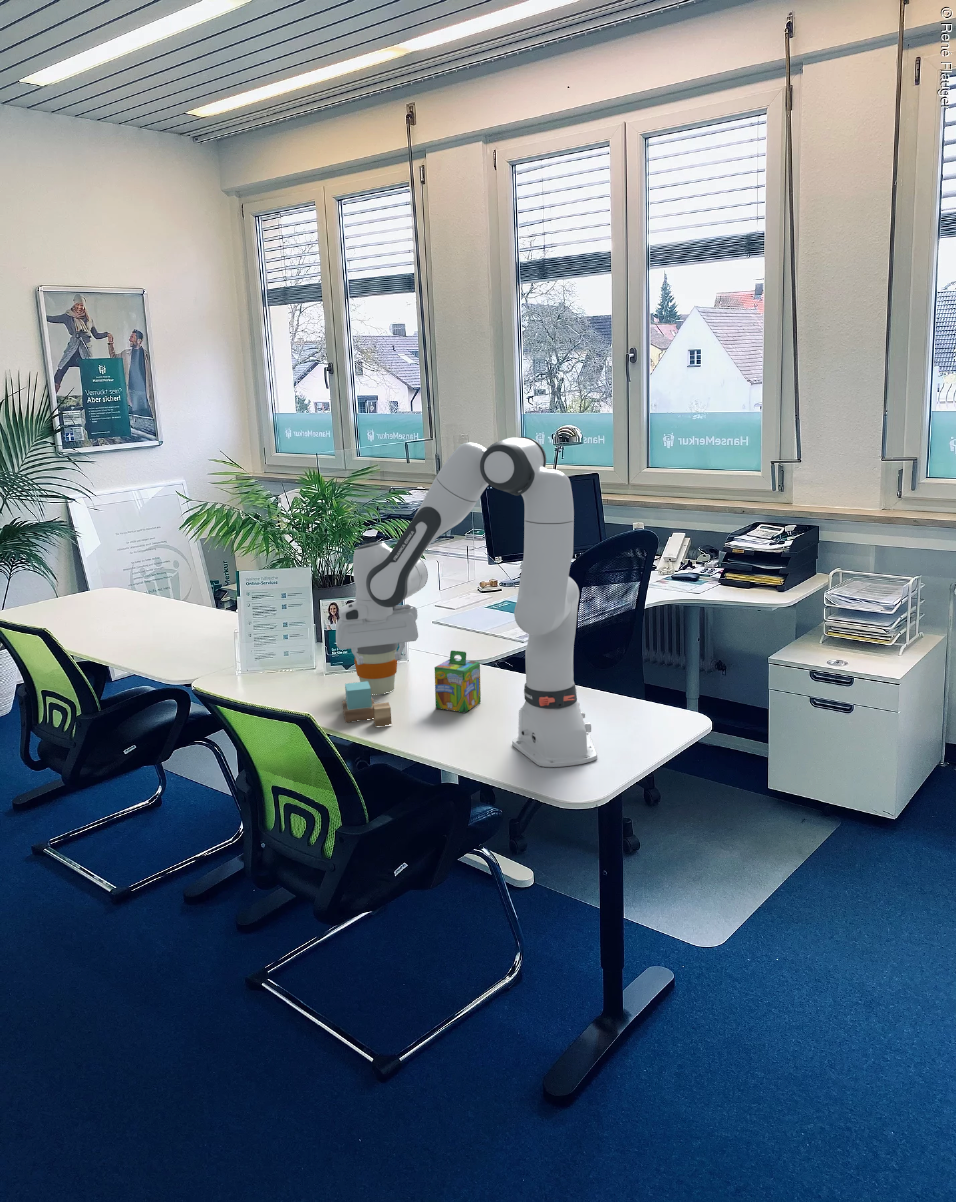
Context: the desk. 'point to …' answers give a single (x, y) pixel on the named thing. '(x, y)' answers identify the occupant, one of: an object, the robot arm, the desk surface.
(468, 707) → the chalk box
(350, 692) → the teal block
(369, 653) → the reusable coffee cup
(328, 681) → the desk surface
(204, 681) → the desk surface
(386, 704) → the oak block
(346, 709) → the walnut slab
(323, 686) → the desk surface
